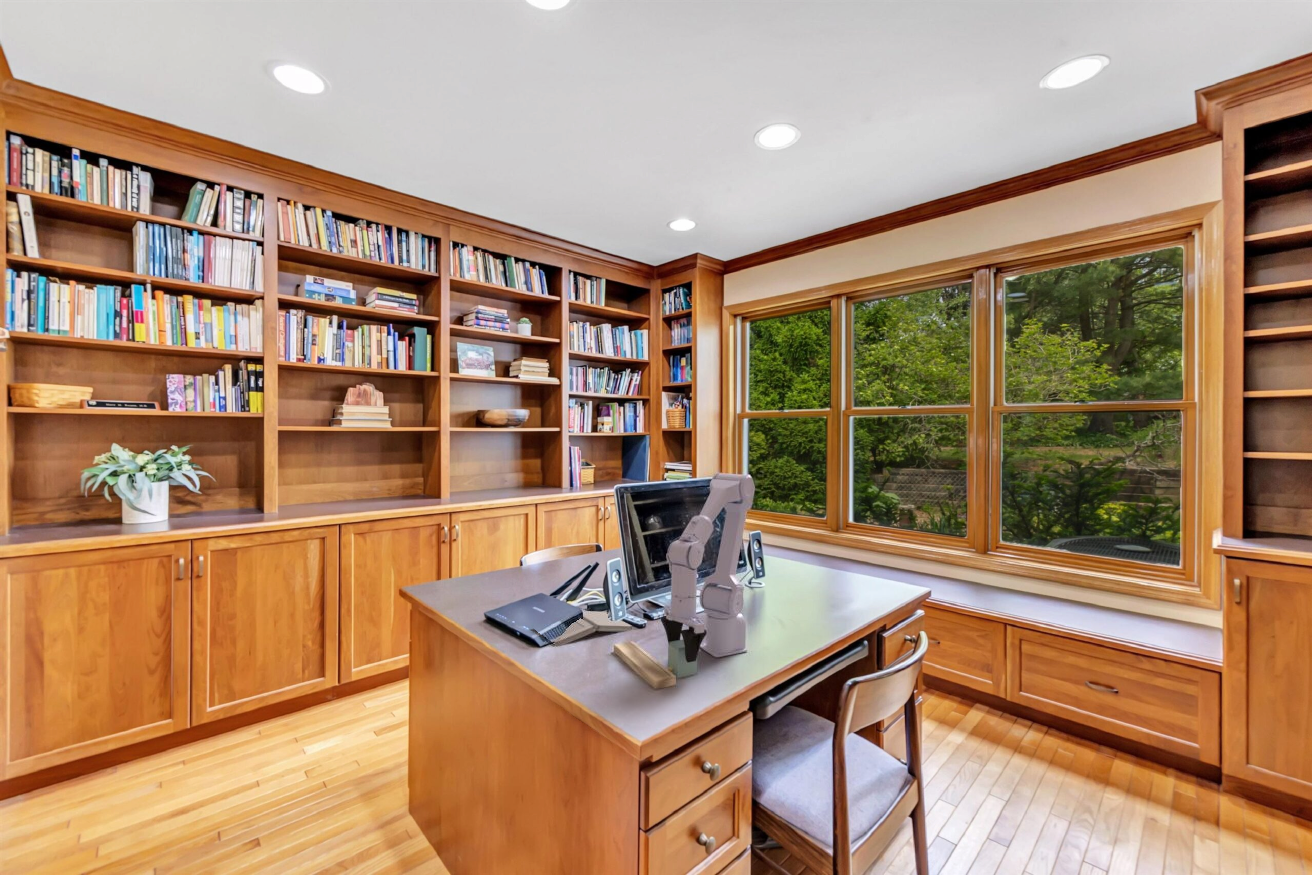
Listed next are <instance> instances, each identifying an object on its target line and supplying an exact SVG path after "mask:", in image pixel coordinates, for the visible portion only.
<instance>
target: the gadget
mask: <svg viewBox="0 0 1312 875" xmlns="http://www.w3.org/2000/svg"><path fill="white" fill-rule="evenodd" d="M582 611H583V619H581V618H580V619H579V620H577V621H576V622H574V623H572V624H571V625H570V626H569V627H568V628H567V629H566V631H565V632H564V633H563V634H562V635H561V636H559V637H557V638H556V639H555V640H554V643H555V645H554V646H555V647H561V646H565V645H566V644H571V642H574V641H577V640H579V639H581V638H583V637H586V636H588V635H590V634H593V633H595V632H596V631H597V632H628V631H630V630H632V628H633V626H632V625H631V624H629V623H628V622H625V621H623V620H622V619H620V621H611V620H609V618H608V614H607V613H608V612H607V611H596V610H595V611H592V610H591V611H590V610H582Z"/></svg>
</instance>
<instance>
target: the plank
mask: <svg viewBox="0 0 1312 875" xmlns="http://www.w3.org/2000/svg"><path fill="white" fill-rule="evenodd" d="M613 652H614V653H615V654H616V655H617V656H618V657H619V658H620V659H621V660H622V661H623V662H624V663H625V664H627V666H629V667H630V668H631V669H632V670H633V671H634V672H635V673H637V675H639V676H640V677H641V678H642V679H643V680H644V681H646V683H647V684H648V685H649V686H651V687H652V688H653V689H654V690H659V689H663V688H667V687H671V686H676V685H677V677H676V676H675V675H674V674H672V673H671V672H670V671H669V670H667V668H666V667H665V666H664V665H662V664H661V663H660V662H659V661H658V660H657V659H655V658H654V657H653V656H652V655H650V654H649V653H648V652H646V651H645V650H644V649H643V648H642V647H640V646H639V645H638V644H637V643H636V642H634V641H632V640H631V641H626V642H620V643H614V644H613Z"/></svg>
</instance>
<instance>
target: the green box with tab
mask: <svg viewBox="0 0 1312 875" xmlns="http://www.w3.org/2000/svg"><path fill="white" fill-rule="evenodd" d="M667 644H668V643H667ZM667 647H668V648H667V649H668V650H667V668H666V669H667V670H669V671H670V672H671V673H672V674H674V675H675V676H676V679H680V678H685V677H690V676H693V675H697V674H698V657H697V658H696V661H694V662H687V661H686V657H685V645H684V640H683V639H680V640H677V641H672V642H670V644H668V646H667Z"/></svg>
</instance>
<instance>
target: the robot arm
mask: <svg viewBox="0 0 1312 875" xmlns="http://www.w3.org/2000/svg"><path fill="white" fill-rule="evenodd" d="M711 478H712V479H710V480H711V481H709V482H710V483H709V492H710V493H709V495H708V497H707V498H706V501H705V503H704V504H703V506H702V507H703V508H702V509H701V511H700V513H699V515H694V516H693V517H692V518H691V519H690V521H689V523H688V524H687V526H686V527H685V529H684V530H683V532H682V533H681V536H680V537H679V539H676V540H674V541H672V542H671V543H670V544H669V546H668V549H667V553H666V555H665V557H666V561H667V563H668V568H669V572H670V574H671V580H670V582H671V584H670V586H671V587H670V588H671V589H670V604H667V605H664V606H663V614H664V615H665V616H662V617H661V618H660V622H661V623H662V626H663V628H664V631H665V633H666V638H667V644H670V642H672V641H677V640H681V637H682V640H684V645H685V657H686V661H687V662H694V661H696V658H697V659H698V655H699V650H700V648H701V649H702V650H703V651H705V652H706V653H708V654H710V656H712V657H714V658H721V657H726V656H731V655H737V654H741V653H746V652H748V649H747V648H746V637H747V636H746V633H747V632H746V631H747V630H746V627H747V625H746V621H745V618H744V615H743V614H742V613H741V612H742V610H743V608H744V589H745V588H744V586H743V584H742V583H741V581H740V580H739V579H738V578H737V576H736V574H737V569H738V563H739V558H740V557H739V556H740V552H741V547H742V541H743V536H744V532H745V531H744V530H745V525H746V519H747V514H748V513H747V512H748V511H750V510H751V509H752V506H753V503H754V502H753V501H754V495H755V490H756V487H755V483H754V479H753V477H752V476H751V474H748V473H747V474H740V473H739V474H738V473H737V474H736V473H725V472H724V473H723V472H715V473H714V474H713V476H712V477H711ZM723 508H724V510H725V511H726V514H725V519H724V524H723V529H722V535H721V540H720V545H719V549H718V556H717V560H716V565H715V571H714V573H711V575H709V576H707V577H705V578H704V584H703V586H702V588H701V590H700V592H699V597H698V598H699V599H698V600H699V604H700V607H701V608H702V609H703V614H705V615H706V619H705V620H706V622H705V623H704V622H703V621H702V620H701V619H700V617H699V616H698V614H697V589H698V588H697V584H698V568H699V567H700V565H701V564H702V561H703V558H704V553H705V546H706V544H707V542H708V541H709V539H710V537H711V535H712V534H713V532H714V524H713V522H715V520H716V518H717V516H718V515H719V514H720V513H721V511H722V510H723ZM722 586H723V587H722ZM684 625H685V626H686V627H688V628H686V629H683V626H684ZM705 626H706V627H705ZM705 628H706V629H705ZM704 639H705V642H704V643H702V642H703V640H704Z"/></svg>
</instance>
